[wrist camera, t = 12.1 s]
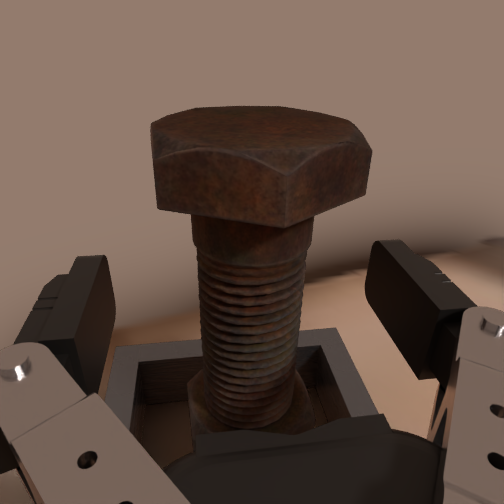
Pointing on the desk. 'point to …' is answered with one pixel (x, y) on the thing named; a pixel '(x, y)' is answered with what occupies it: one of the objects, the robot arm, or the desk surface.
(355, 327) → the desk surface
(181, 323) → the desk surface
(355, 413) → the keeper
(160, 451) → the desk surface
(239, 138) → the bolt
